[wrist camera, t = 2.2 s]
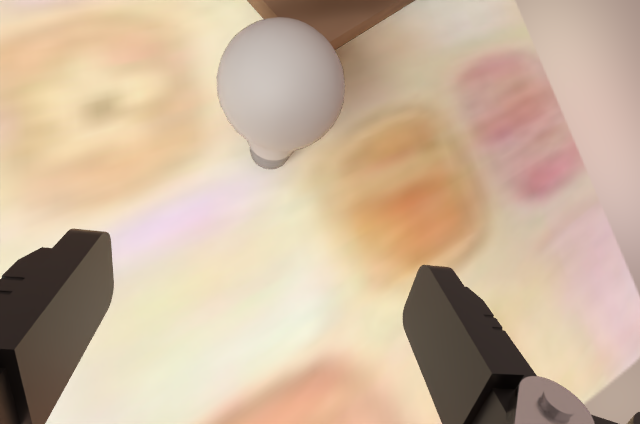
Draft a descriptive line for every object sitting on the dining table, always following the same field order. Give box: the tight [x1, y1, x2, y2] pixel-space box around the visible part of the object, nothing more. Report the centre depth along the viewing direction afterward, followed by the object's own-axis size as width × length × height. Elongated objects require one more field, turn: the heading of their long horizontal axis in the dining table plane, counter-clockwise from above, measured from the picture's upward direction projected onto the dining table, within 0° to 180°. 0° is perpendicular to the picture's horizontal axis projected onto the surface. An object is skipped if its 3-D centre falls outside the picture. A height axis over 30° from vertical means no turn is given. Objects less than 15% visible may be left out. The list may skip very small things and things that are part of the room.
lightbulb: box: [217, 17, 345, 169], centre depth 21 cm, size 6×6×11 cm
